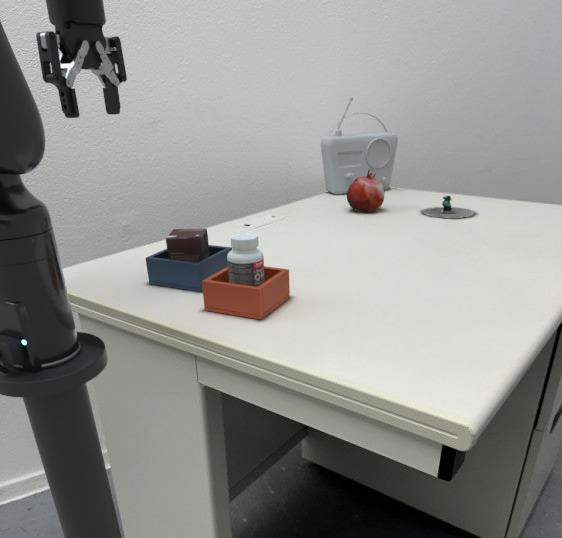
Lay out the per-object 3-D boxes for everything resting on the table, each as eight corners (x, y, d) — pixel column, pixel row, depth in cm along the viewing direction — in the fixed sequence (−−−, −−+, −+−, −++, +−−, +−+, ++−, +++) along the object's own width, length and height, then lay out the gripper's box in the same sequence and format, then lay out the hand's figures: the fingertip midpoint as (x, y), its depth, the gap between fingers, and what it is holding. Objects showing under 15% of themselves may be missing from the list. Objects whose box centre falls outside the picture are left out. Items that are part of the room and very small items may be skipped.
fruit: (340, 208, 141) (341, 167, 136) (374, 205, 143) (376, 165, 138) (354, 216, 133) (355, 173, 128) (389, 212, 135) (392, 170, 130)
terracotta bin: (261, 319, 78) (259, 289, 76) (204, 310, 82) (201, 280, 79) (289, 297, 85) (289, 269, 83) (236, 289, 89) (234, 262, 87)
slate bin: (201, 292, 89) (198, 264, 86) (149, 284, 93) (145, 257, 91) (234, 272, 97) (232, 247, 95) (185, 266, 101) (182, 241, 99)
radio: (330, 196, 155) (331, 98, 143) (318, 192, 162) (319, 97, 150) (398, 190, 161) (405, 95, 149) (384, 185, 168) (390, 94, 156)
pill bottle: (264, 306, 81) (261, 240, 76) (228, 306, 81) (223, 241, 76) (266, 293, 85) (263, 231, 81) (232, 294, 86) (227, 231, 81)
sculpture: (413, 212, 137) (432, 185, 136) (434, 233, 141) (453, 207, 140) (442, 218, 126) (463, 189, 125) (464, 241, 131) (485, 213, 130)
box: (211, 269, 97) (208, 227, 94) (206, 280, 92) (201, 237, 88) (178, 269, 97) (173, 228, 94) (170, 280, 92) (164, 237, 89)
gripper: (89, -7, 81) (108, 113, 89) (8, -21, 70) (38, 118, 78) (128, -12, 78) (144, 113, 86) (50, -27, 67) (76, 119, 75)
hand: (93, 116), depth 82 cm, fingers open, 8 cm apart
